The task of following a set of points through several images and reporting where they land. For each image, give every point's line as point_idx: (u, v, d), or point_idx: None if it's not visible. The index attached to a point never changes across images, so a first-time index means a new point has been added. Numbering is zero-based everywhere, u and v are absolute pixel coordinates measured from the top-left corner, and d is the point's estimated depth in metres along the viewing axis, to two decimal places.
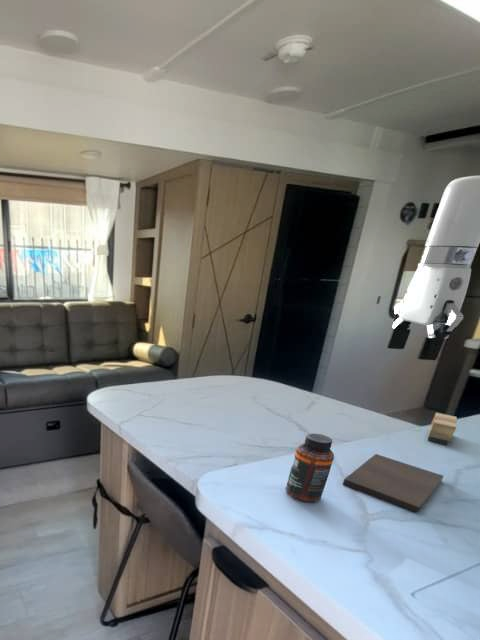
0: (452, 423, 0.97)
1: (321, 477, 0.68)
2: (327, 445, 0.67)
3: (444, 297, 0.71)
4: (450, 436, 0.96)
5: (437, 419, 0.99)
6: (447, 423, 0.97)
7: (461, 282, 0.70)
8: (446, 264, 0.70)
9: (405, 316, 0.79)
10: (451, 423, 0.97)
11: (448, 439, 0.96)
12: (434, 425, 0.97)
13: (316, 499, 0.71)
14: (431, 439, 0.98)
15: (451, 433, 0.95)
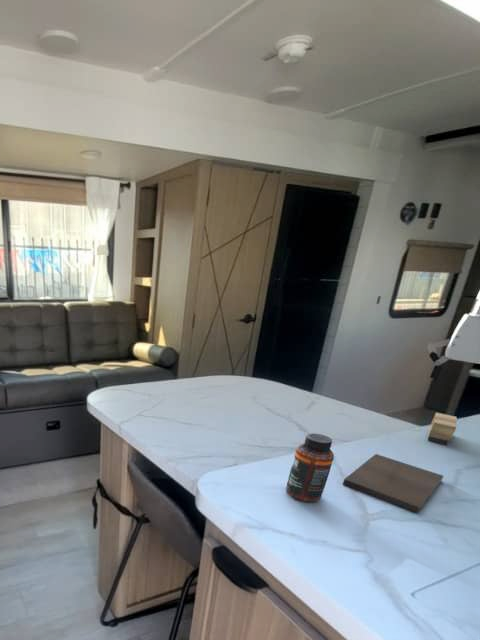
0: (452, 423, 0.97)
1: (321, 477, 0.68)
2: (327, 445, 0.67)
3: None
4: (450, 436, 0.96)
5: (437, 419, 0.99)
6: (447, 423, 0.97)
7: None
8: None
9: (460, 357, 0.92)
10: (451, 423, 0.97)
11: (448, 439, 0.96)
12: (434, 425, 0.97)
13: (316, 499, 0.71)
14: (431, 439, 0.98)
15: (451, 433, 0.95)
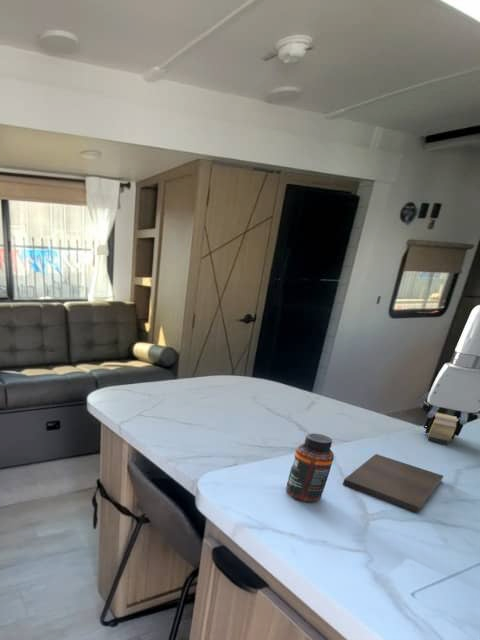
0: (452, 423, 0.97)
1: (321, 477, 0.68)
2: (327, 445, 0.67)
3: None
4: (450, 436, 0.96)
5: (437, 419, 0.99)
6: (447, 423, 0.97)
7: None
8: None
9: (441, 404, 0.97)
10: (451, 423, 0.97)
11: (448, 439, 0.96)
12: (434, 425, 0.97)
13: (316, 499, 0.71)
14: (431, 439, 0.98)
15: (451, 433, 0.95)
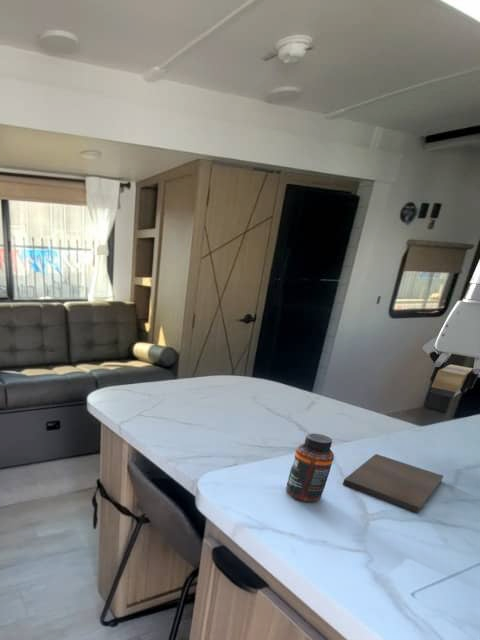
0: (463, 372, 0.81)
1: (321, 477, 0.68)
2: (327, 445, 0.67)
3: None
4: (457, 386, 0.80)
5: (446, 368, 0.83)
6: (456, 371, 0.81)
7: None
8: None
9: (450, 349, 0.82)
10: (461, 372, 0.81)
11: (454, 390, 0.80)
12: (438, 373, 0.82)
13: (316, 499, 0.71)
14: (435, 391, 0.83)
15: (458, 382, 0.80)
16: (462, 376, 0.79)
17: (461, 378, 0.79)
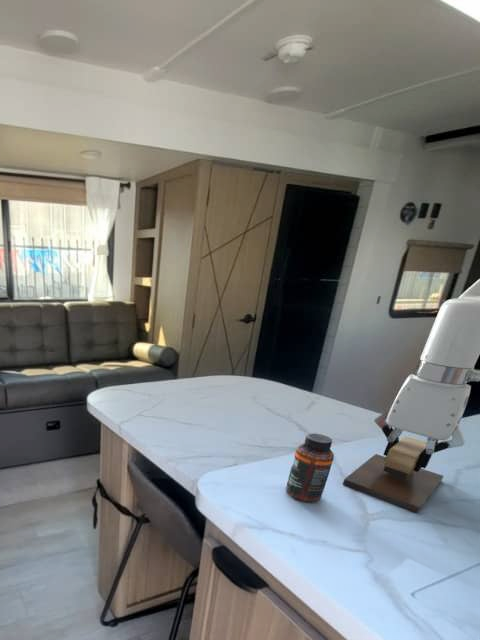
0: (415, 451, 0.75)
1: (321, 477, 0.68)
2: (327, 445, 0.67)
3: (459, 415, 0.70)
4: (409, 468, 0.74)
5: (398, 445, 0.78)
6: (408, 451, 0.75)
7: (466, 399, 0.71)
8: (460, 384, 0.69)
9: (402, 426, 0.76)
10: (414, 451, 0.75)
11: (407, 471, 0.75)
12: (390, 452, 0.76)
13: (316, 499, 0.71)
14: (387, 470, 0.77)
15: (410, 464, 0.74)
16: (414, 458, 0.73)
17: (413, 460, 0.74)
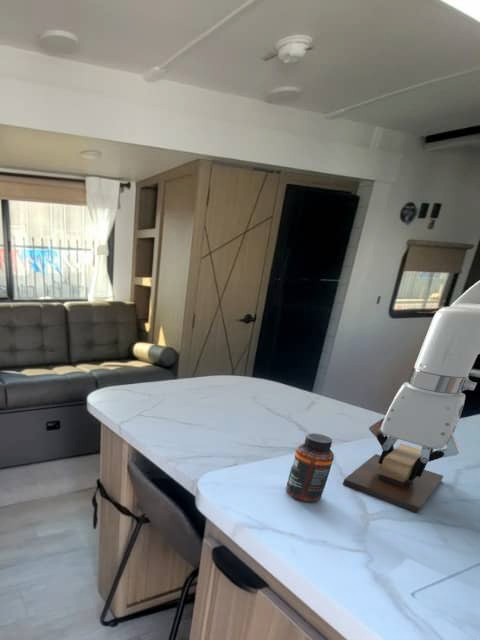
0: (410, 459, 0.75)
1: (321, 477, 0.68)
2: (327, 445, 0.67)
3: (454, 424, 0.69)
4: (404, 476, 0.74)
5: (393, 453, 0.77)
6: (403, 459, 0.75)
7: (460, 408, 0.70)
8: (454, 393, 0.68)
9: (397, 435, 0.75)
10: (409, 459, 0.75)
11: (401, 480, 0.74)
12: (385, 460, 0.75)
13: (316, 499, 0.71)
14: (382, 478, 0.77)
15: (405, 472, 0.73)
16: (408, 466, 0.73)
17: (408, 468, 0.73)
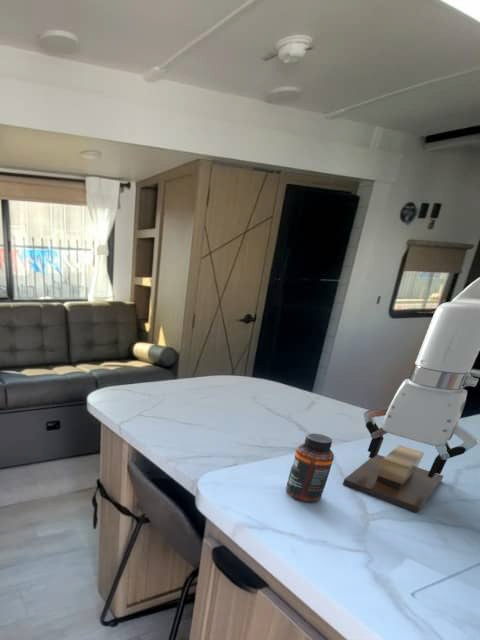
0: (409, 461, 0.74)
1: (321, 477, 0.68)
2: (327, 445, 0.67)
3: (456, 421, 0.69)
4: (402, 478, 0.73)
5: (392, 454, 0.76)
6: (401, 460, 0.74)
7: (462, 404, 0.69)
8: (456, 390, 0.67)
9: (398, 432, 0.74)
10: (407, 461, 0.74)
11: (400, 481, 0.73)
12: (383, 462, 0.75)
13: (316, 499, 0.71)
14: (380, 479, 0.76)
15: (403, 474, 0.73)
16: (407, 468, 0.72)
17: (406, 470, 0.72)
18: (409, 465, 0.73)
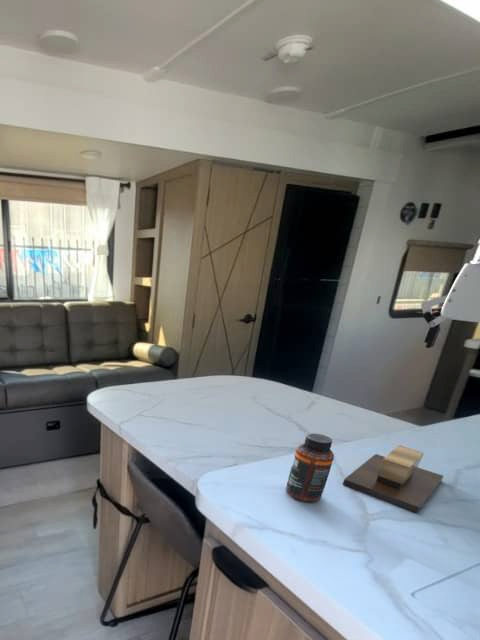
0: (409, 461, 0.74)
1: (321, 477, 0.68)
2: (327, 445, 0.67)
3: None
4: (402, 478, 0.73)
5: (392, 454, 0.76)
6: (401, 460, 0.74)
7: None
8: None
9: (458, 315, 0.77)
10: (407, 461, 0.74)
11: (400, 481, 0.73)
12: (383, 462, 0.75)
13: (316, 499, 0.71)
14: (380, 479, 0.76)
15: (403, 474, 0.73)
16: (407, 468, 0.72)
17: (406, 470, 0.72)
18: (409, 465, 0.73)
